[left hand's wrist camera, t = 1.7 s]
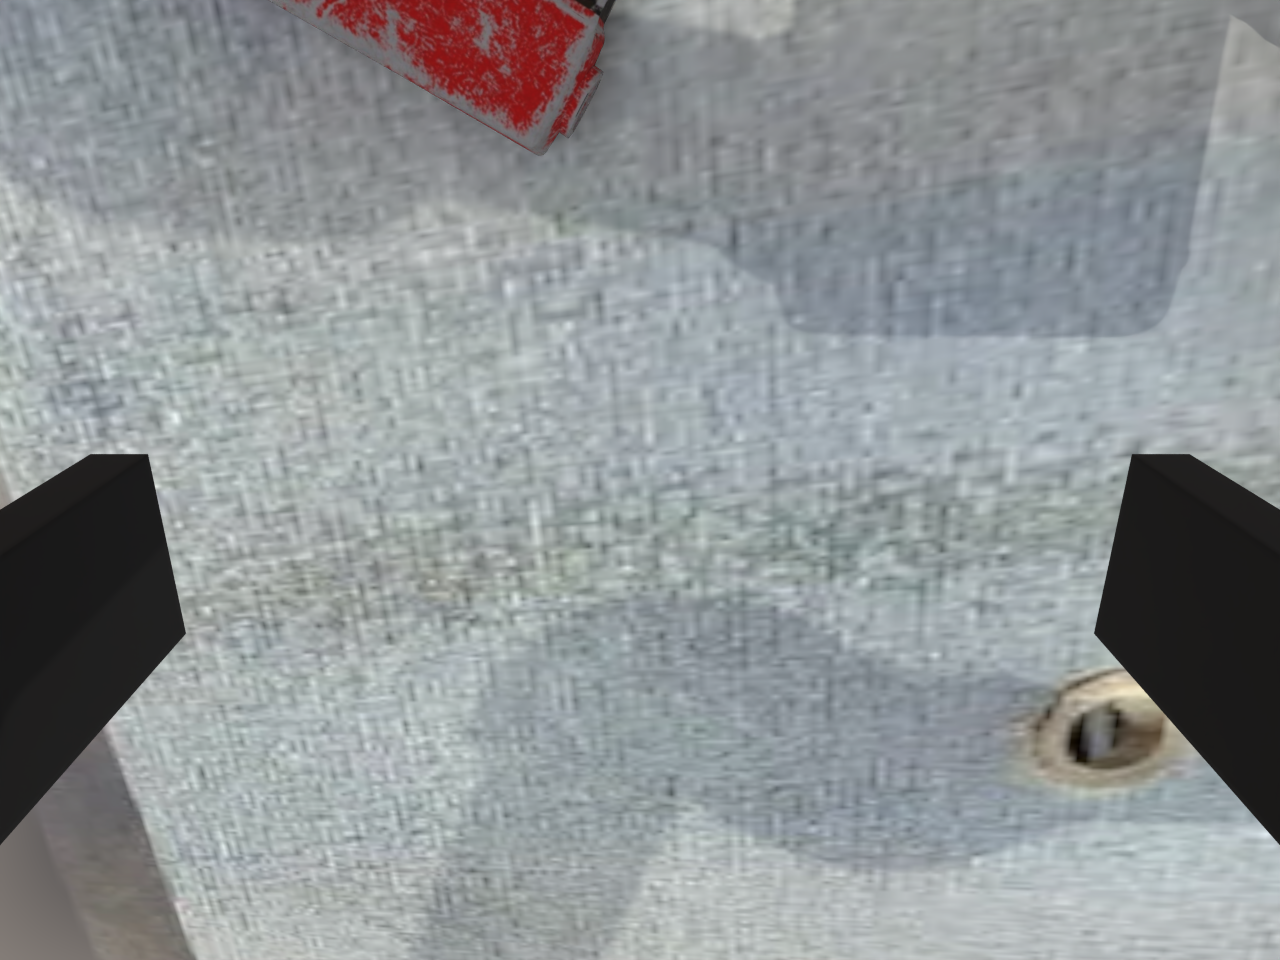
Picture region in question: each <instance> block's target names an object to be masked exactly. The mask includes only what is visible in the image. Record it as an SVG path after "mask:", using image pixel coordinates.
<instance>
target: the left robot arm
mask: <svg viewBox="0 0 1280 960" xmlns="http://www.w3.org/2000/svg"><path fill="white" fill-rule="evenodd" d="M185 634H186V632H185V627H184V622H183V618H182V613H181V608H180V603H179V599H178V594H177V589H176V584H175V580H174V575H173V570H172V566H171V561H170V556H169V551H168V547H167V542H166V537H165V533H164V528H163V523H162V518H161V514H160V509H159V504H158V499H157V495H156V490H155V485H154V481H153V476H152V471H151V466H150V462H149V457H148V454H90V455H88V456H87V457H85V458H84V459H82V460H80V461H79V462H77V463H75V464H74V465H72V466H71V467H69V468H67V469H66V470H64V471H62V472H61V473H59V474H58V475H56V476H54V477H53V478H51V479H49V480H48V481H46V482H45V483H43V484H41V485H40V486H38V487H36V488H35V489H33V490H32V491H30V492H28V493H27V494H25V495H23V496H22V497H20V498H19V499H17V500H15V501H14V502H12V503H10V504H9V505H7V506H6V507H4V508H2V509H1V510H0V845H1V843H2V842H3V841H4V840H5V839H6V838H7V837H8V835H9V834H10V833H11V832H12V831H13V830H14V829H15V828H16V826H17V825H18V824H19V823H20V822H21V821H22V819H23V818H24V817H25V816H26V815H27V814H28V813H29V812H30V810H31V809H32V808H33V807H34V806H35V805H36V804H37V802H38V801H39V800H40V799H41V798H42V797H43V796H44V795H45V793H46V792H47V791H48V790H49V789H50V788H51V787H52V785H53V784H54V783H55V782H56V781H57V780H58V779H59V777H60V776H61V775H62V774H63V773H64V772H65V771H66V769H67V768H68V767H69V766H70V765H71V764H72V763H73V761H74V760H75V759H76V758H77V757H78V756H79V755H80V754H81V752H82V751H83V750H84V749H85V748H86V747H87V746H88V744H89V743H90V742H91V741H92V740H93V739H94V738H95V736H96V735H97V734H98V733H99V732H100V731H101V730H102V728H103V727H104V726H105V725H106V724H107V723H108V722H109V720H110V719H111V718H112V717H113V716H114V715H115V714H116V713H117V711H118V710H119V709H120V708H121V707H122V706H123V705H124V703H125V702H126V701H127V700H128V699H129V698H130V697H131V695H132V694H133V693H134V692H135V691H136V690H137V689H138V687H139V686H140V685H141V684H142V683H143V682H144V681H145V679H146V678H147V677H148V676H149V675H150V674H151V673H152V672H153V670H154V669H155V668H156V667H157V666H158V665H159V664H160V662H161V661H162V660H163V659H164V658H165V657H166V656H167V654H168V653H169V652H170V651H171V650H172V649H173V648H174V646H175V645H176V644H177V643H178V642H179V641H180V640H181V639H182V637H183V636H184V635H185ZM1094 634H1095V635H1096V636H1097V637H1098V639H1099V640H1100V641H1101V642H1102V643H1103V644H1104V645H1105V646H1106V648H1107V649H1108V650H1109V651H1110V652H1111V653H1112V654H1113V656H1114V657H1115V658H1116V659H1117V660H1118V661H1119V662H1120V664H1121V665H1122V666H1123V667H1124V668H1125V669H1126V670H1127V672H1128V673H1129V674H1130V675H1131V676H1132V677H1133V678H1134V679H1135V681H1136V682H1137V683H1138V684H1139V685H1140V686H1141V687H1142V689H1143V690H1144V691H1145V692H1146V693H1147V694H1148V695H1149V697H1150V698H1151V699H1152V700H1153V701H1154V702H1155V703H1156V705H1157V706H1158V707H1159V708H1160V709H1161V710H1162V711H1163V713H1164V714H1165V715H1166V716H1167V717H1168V718H1169V719H1170V720H1171V722H1172V723H1173V724H1174V725H1175V726H1176V727H1177V728H1178V730H1179V731H1180V732H1181V733H1182V734H1183V735H1184V736H1185V738H1186V739H1187V740H1188V741H1189V742H1190V743H1191V744H1192V746H1193V747H1194V748H1195V749H1196V750H1197V751H1198V752H1199V754H1200V755H1201V756H1202V757H1203V758H1204V759H1205V760H1206V761H1207V763H1208V764H1209V765H1210V766H1211V767H1212V768H1213V769H1214V771H1215V772H1216V773H1217V774H1218V775H1219V776H1220V777H1221V779H1222V780H1223V781H1224V782H1225V783H1226V784H1227V785H1228V787H1229V788H1230V789H1231V790H1232V791H1233V792H1234V793H1235V795H1236V796H1237V797H1238V798H1239V799H1240V800H1241V801H1242V802H1243V804H1244V805H1245V806H1246V807H1247V808H1248V809H1249V810H1250V812H1251V813H1252V814H1253V815H1254V816H1255V817H1256V818H1257V820H1258V821H1259V822H1260V823H1261V824H1262V825H1263V826H1264V828H1265V829H1266V830H1267V831H1268V832H1269V833H1270V834H1271V836H1272V837H1273V838H1274V839H1275V840H1276V841H1277V842H1278V843H1279V845H1280V510H1279V509H1278V508H1276V507H1274V506H1273V505H1271V504H1270V503H1268V502H1266V501H1265V500H1263V499H1261V498H1260V497H1258V496H1257V495H1255V494H1253V493H1252V492H1250V491H1248V490H1247V489H1245V488H1244V487H1242V486H1240V485H1239V484H1237V483H1235V482H1234V481H1232V480H1231V479H1229V478H1227V477H1226V476H1224V475H1222V474H1221V473H1219V472H1218V471H1216V470H1214V469H1213V468H1211V467H1209V466H1208V465H1206V464H1205V463H1203V462H1201V461H1200V460H1198V459H1196V458H1195V457H1193V456H1192V455H1190V454H1132V457H1131V462H1130V466H1129V471H1128V476H1127V481H1126V485H1125V490H1124V495H1123V499H1122V504H1121V509H1120V514H1119V518H1118V523H1117V528H1116V533H1115V537H1114V542H1113V547H1112V551H1111V556H1110V561H1109V566H1108V570H1107V575H1106V580H1105V584H1104V589H1103V594H1102V599H1101V603H1100V608H1099V613H1098V617H1097V622H1096V627H1095V632H1094Z"/></svg>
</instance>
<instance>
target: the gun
mask: <svg viewBox="0 0 1280 960" xmlns="http://www.w3.org/2000/svg"><path fill="white" fill-rule="evenodd" d="M269 1H271V2H273V3H274V4H276V5H278V6H280V7H281V8H283V9H285V10H287V11H288V12H290V13H292V14H294V15H295V16H297V17H299V18H301V19H302V20H304V21H306V22H308V23H309V24H311V25H313V26H315V27H316V28H318V29H320V30H322V31H323V32H325V33H327V34H329V35H330V36H332V37H334V38H336V39H337V40H339V41H341V42H343V43H344V44H346V45H348V46H350V47H352V48H353V49H355V50H357V51H359V52H360V53H362V54H364V55H366V56H367V57H369V58H371V59H373V60H374V61H376V62H378V63H380V64H381V65H383V66H385V67H387V68H388V69H390V70H392V71H394V72H395V73H397V74H399V75H401V76H402V77H404V78H406V79H407V80H409V81H411V82H413V83H414V84H416V85H418V86H419V87H421V88H423V89H425V90H426V91H428V92H430V93H431V94H433V95H435V96H437V97H438V98H440V99H442V100H443V101H445V102H447V103H449V104H450V105H452V106H454V107H455V108H457V109H459V110H461V111H462V112H464V113H466V114H467V115H469V116H471V117H473V118H474V119H476V120H478V121H479V122H481V123H483V124H485V125H486V126H488V127H490V128H491V129H493V130H495V131H497V132H498V133H500V134H502V135H503V136H505V137H507V138H509V139H510V140H512V141H514V142H515V143H517V144H519V145H521V146H522V147H524V148H526V149H527V150H529V151H531V152H533V153H534V154H536V155H539V156H541V155H544V154H545V153H546V151H547V150H548V148H549V147H550V145H551V144H552V142H553V141H554V139H555V138H556V136H557V135H558V133H559V132H560V133H561V134H563V135H564V136H566V137H567V138H569V137H570V136H571V134H572V133H573V132H574V130H575V128H576V126H577V125H578V123H579V121H580V119H581V118H582V116H583V114H584V112H585V110H586V108H587V106H588V105H589V103H590V101H591V99H592V97H593V95H594V93H595V91H596V89H597V87H598V84H599V82H600V80H601V77H602V75H603V71H601V70H600V69H599V68H597V67H596V66H594V65H595V63H596V61H597V58H598V56H599V53H600V51H601V48H602V46H603V44H604V40H605V34H604V29H603V27H604V23H605V21H606V19H607V17H608V15H609V13H610V11H611V9H612V7H613V5H614V3H615V1H616V0H269Z"/></svg>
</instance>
